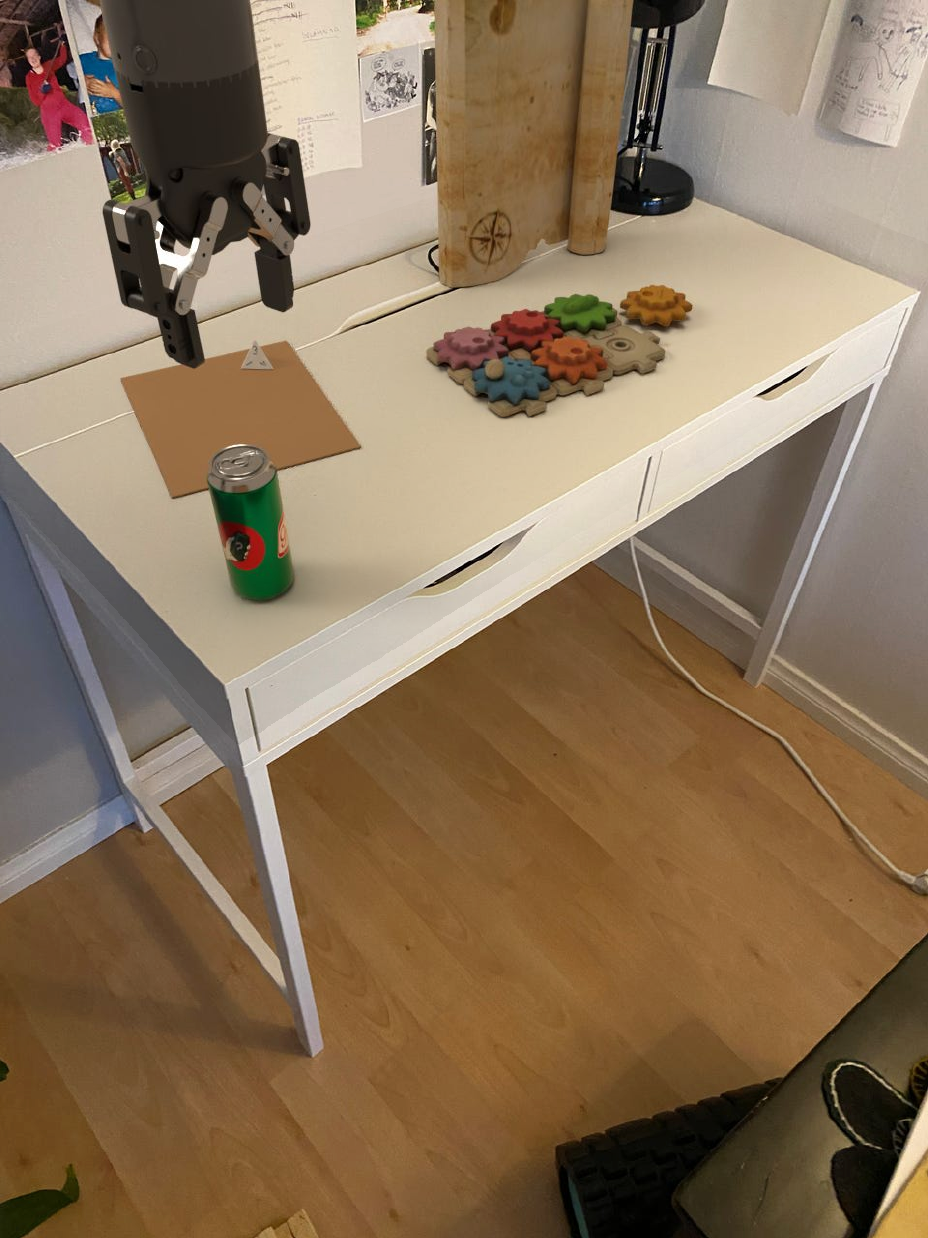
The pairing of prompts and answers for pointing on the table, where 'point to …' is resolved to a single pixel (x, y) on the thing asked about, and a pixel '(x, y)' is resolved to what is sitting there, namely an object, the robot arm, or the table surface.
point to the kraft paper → (234, 414)
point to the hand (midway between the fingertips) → (235, 334)
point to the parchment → (525, 128)
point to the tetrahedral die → (256, 359)
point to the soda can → (251, 521)
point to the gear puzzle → (557, 348)
